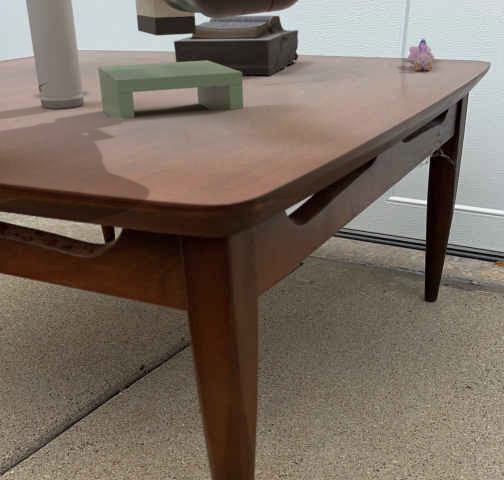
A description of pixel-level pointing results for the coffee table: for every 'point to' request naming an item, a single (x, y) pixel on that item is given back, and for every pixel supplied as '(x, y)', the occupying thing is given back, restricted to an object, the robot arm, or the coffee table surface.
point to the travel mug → (55, 53)
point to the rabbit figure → (421, 56)
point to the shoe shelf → (169, 84)
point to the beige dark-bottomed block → (163, 18)
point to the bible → (241, 44)
